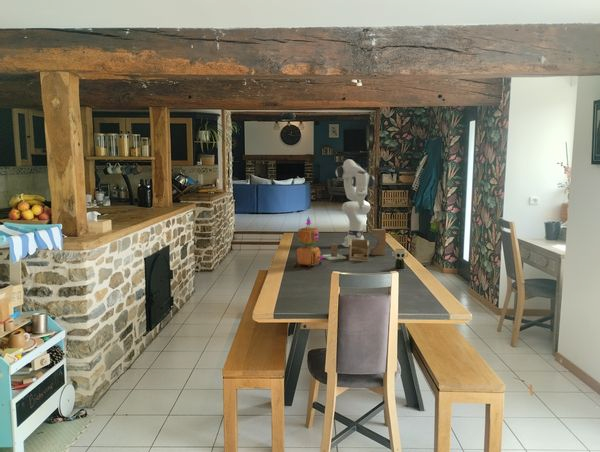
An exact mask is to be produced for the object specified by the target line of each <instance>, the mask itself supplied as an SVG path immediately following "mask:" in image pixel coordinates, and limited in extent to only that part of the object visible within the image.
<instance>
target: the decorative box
mask: <svg viewBox="0 0 600 452" xmlns="http://www.w3.org/2000/svg"><path fill="white" fill-rule="evenodd" d="M305 224H306V227H302V228H299V229H298V232H297V233H298V234H297V238H298V239H297V240H298V243H300V244H303V246H300V247H298V248H297V249H296V253H295V254H296V260H295V261H296V262H295V264H294V265H293V268H294V269H295V268H296V267H297V265H303V266H304V265H305V266H307V270H310V269H311V266H313V265H316V264H319V265H322V264H323V263H322V261H321V259H322V260H323V259H324V257H322V255H321V250H320V248H319V247H318V246H315V245H314V243H317V242H318V240H320V238H319V235H320V233H319V230H318V228H316V227H310V225H311V224H312V222H311V219H310V217H309V216H308V217H307V219H306V223H305Z"/></svg>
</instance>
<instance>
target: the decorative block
mask: <svg viewBox="0 0 600 452" xmlns="http://www.w3.org/2000/svg"><path fill="white" fill-rule="evenodd" d="M370 235H371V237H375V238H376V240H377V243H376V245H375V246H373V247H371V248H370V247H369V255H371V256H386V246H387V245H386V244H387V243H386V242H387V241H386V240H387V237H386V236H387V230H386V229H385V228H371V229H370Z"/></svg>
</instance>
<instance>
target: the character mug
mask: <svg viewBox="0 0 600 452" xmlns="http://www.w3.org/2000/svg"><path fill="white" fill-rule="evenodd" d="M391 256H392V257H394V258H395V259H396V260H395V265H394V267H395V268H397V269H404V268H405V261H404V259H406V258H408V257H409V252H408V251H407V250H406V249H405V248H395V249H394V251H391Z"/></svg>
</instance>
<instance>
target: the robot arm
mask: <svg viewBox="0 0 600 452" xmlns="http://www.w3.org/2000/svg"><path fill="white" fill-rule="evenodd" d="M335 175H336V177H337V178H338V179H341V180H342V179H343V187H344V192H345V195H346V196H345V197H346V198H347V199H348V200H349V201H346V202H344V203H342V206H341V209H342V211H341V212H342V213H344V215H346V217H347V218H348V222H349V223H348V224H349V225H348V226H349V230H348V233H347V235H346V236H345V238H344V239H343V241H344V242H342V243H341V245H342V246H343V247H345V248H349V243H350V239H362V240H365V237H364V236H363V233H364V232H363V231H364V230H363V220H362V219H360V218H358V215H365V214H368V213H369V212H370V211H371V204H370V202H368V201H366V200H365V198H366V196H367V195H368V189H371V188H373V187H374V186H376V185H375V184H376V179H375V177H374V175H372V174H370V173H369V172H368V171H367V170H366V169H364V168H362V167H361V165H360V164H359V163H357V162H355V161H354V160H353V159H349V158H347V159H345V160H344V161H343V165H340V166H337V167H336V169H335Z"/></svg>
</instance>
